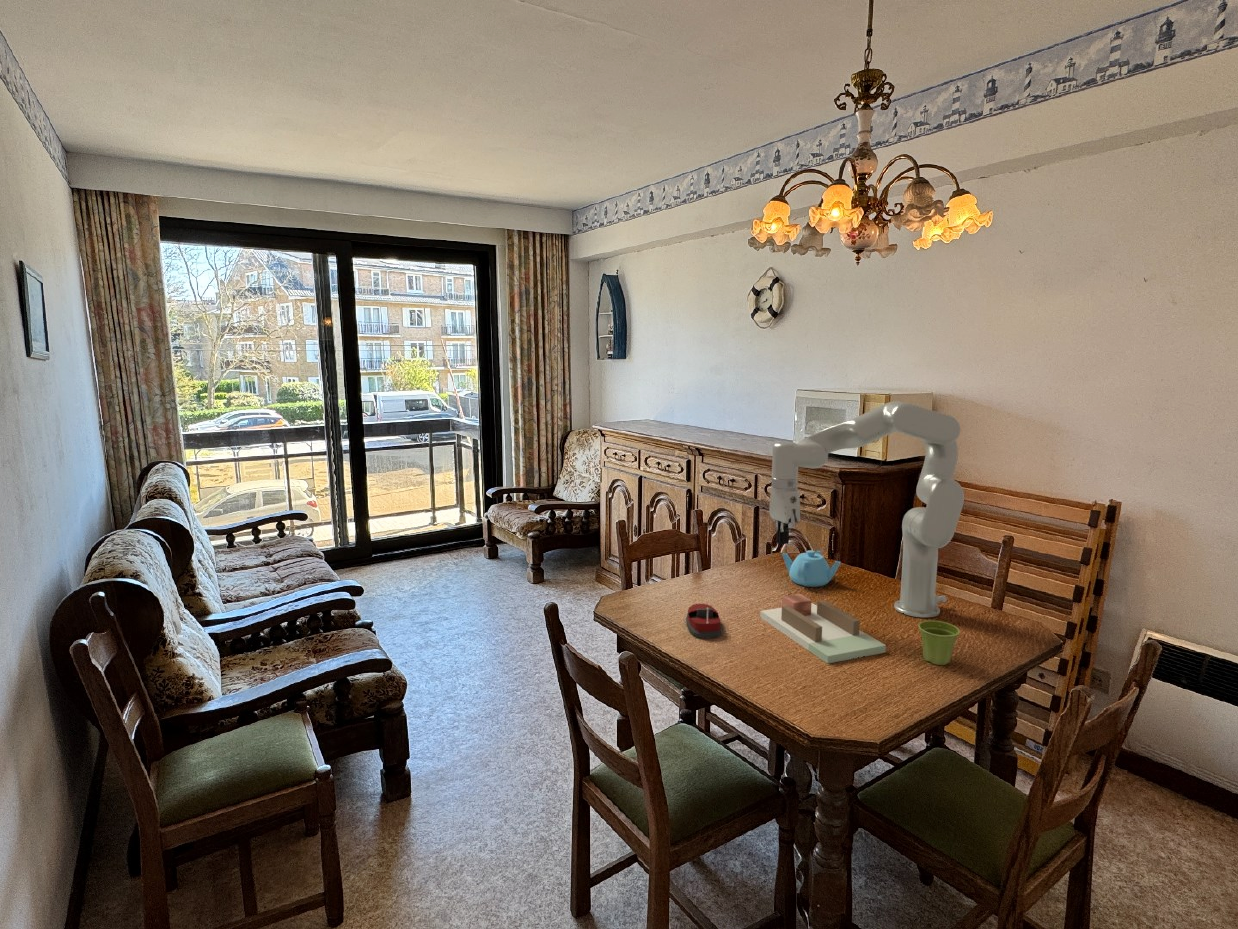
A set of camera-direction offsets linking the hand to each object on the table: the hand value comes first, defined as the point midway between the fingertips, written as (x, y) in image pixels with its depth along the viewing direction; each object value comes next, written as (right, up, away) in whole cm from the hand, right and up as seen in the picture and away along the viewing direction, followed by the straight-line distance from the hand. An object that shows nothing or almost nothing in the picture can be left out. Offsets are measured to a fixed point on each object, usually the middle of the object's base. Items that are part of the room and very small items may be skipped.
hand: (782, 543), depth 198 cm
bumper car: (-25, -24, -9) cm, 36 cm away
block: (+3, -20, -4) cm, 21 cm away
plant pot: (+31, -26, -31) cm, 51 cm away
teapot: (+17, -17, +29) cm, 37 cm away
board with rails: (+7, -24, -14) cm, 28 cm away
